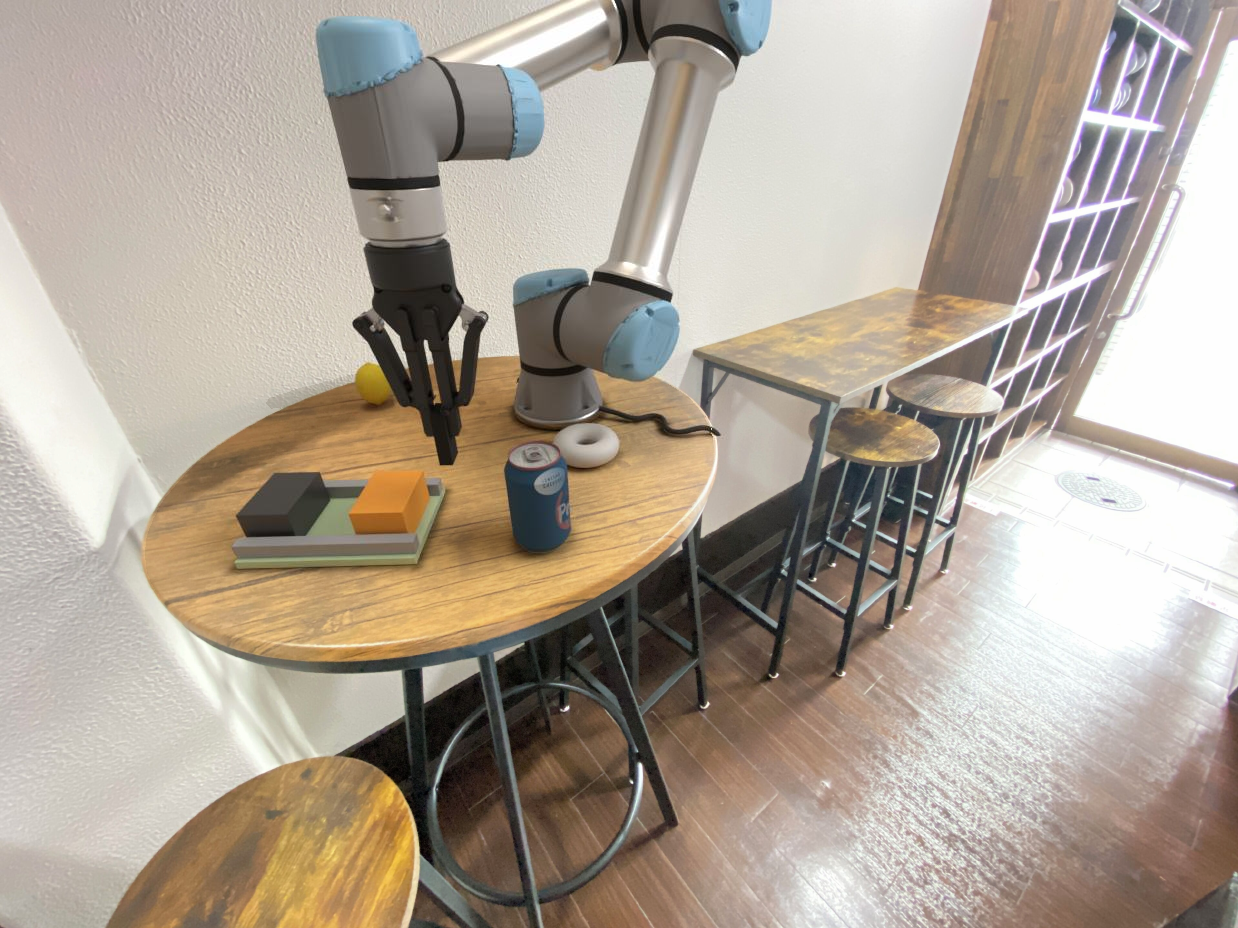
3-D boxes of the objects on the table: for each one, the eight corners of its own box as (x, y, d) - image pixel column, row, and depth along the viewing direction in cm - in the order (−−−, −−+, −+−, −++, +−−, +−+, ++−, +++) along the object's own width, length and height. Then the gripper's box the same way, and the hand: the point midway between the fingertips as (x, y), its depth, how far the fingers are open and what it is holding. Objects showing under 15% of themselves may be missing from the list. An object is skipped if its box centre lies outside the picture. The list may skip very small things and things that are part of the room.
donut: (540, 460, 79) (595, 479, 75) (537, 440, 77) (594, 458, 73) (579, 432, 86) (632, 448, 82) (577, 413, 84) (631, 428, 80)
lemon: (402, 402, 95) (391, 360, 91) (375, 415, 91) (363, 371, 87) (382, 395, 98) (371, 354, 93) (355, 407, 94) (342, 364, 89)
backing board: (445, 492, 72) (438, 457, 69) (416, 564, 61) (405, 526, 58) (295, 495, 72) (281, 461, 69) (237, 568, 60) (217, 531, 57)
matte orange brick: (430, 498, 69) (423, 469, 67) (410, 542, 62) (402, 512, 60) (383, 499, 69) (374, 470, 67) (358, 543, 62) (348, 513, 60)
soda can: (577, 551, 62) (572, 465, 56) (517, 562, 61) (505, 475, 54) (565, 515, 68) (559, 433, 61) (510, 525, 66) (498, 442, 60)
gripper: (314, 247, 45) (380, 478, 58) (470, 247, 46) (501, 476, 58) (349, 232, 51) (401, 443, 64) (485, 232, 52) (510, 441, 65)
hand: (449, 458), depth 61 cm, fingers closed
